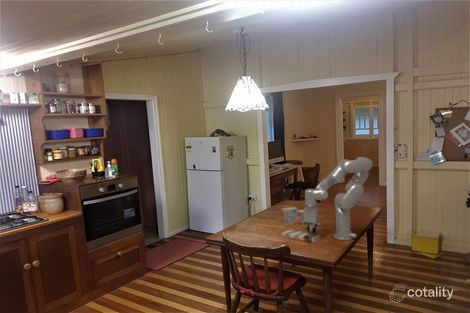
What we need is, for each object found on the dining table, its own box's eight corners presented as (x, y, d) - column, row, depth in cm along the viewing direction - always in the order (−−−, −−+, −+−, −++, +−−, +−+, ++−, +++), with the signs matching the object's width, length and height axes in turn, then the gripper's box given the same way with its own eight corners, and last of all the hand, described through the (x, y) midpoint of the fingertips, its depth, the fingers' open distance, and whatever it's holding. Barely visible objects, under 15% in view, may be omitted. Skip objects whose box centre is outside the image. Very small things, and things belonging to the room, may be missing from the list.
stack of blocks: (305, 220, 281) (304, 205, 280) (308, 221, 275) (307, 207, 274) (281, 222, 277) (280, 208, 276) (284, 224, 271) (283, 210, 270)
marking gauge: (319, 235, 238) (318, 221, 237) (310, 241, 227) (309, 227, 226) (313, 234, 241) (312, 220, 240) (303, 240, 230) (303, 226, 230)
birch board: (320, 237, 235) (320, 235, 235) (314, 242, 228) (314, 239, 227) (288, 232, 252) (288, 229, 252) (281, 235, 244) (281, 232, 244)
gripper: (324, 206, 230) (324, 232, 231) (302, 204, 240) (303, 229, 242) (319, 209, 224) (320, 235, 226) (297, 206, 235) (298, 231, 236)
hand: (311, 232), depth 234 cm, fingers closed on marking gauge, 3 cm apart
